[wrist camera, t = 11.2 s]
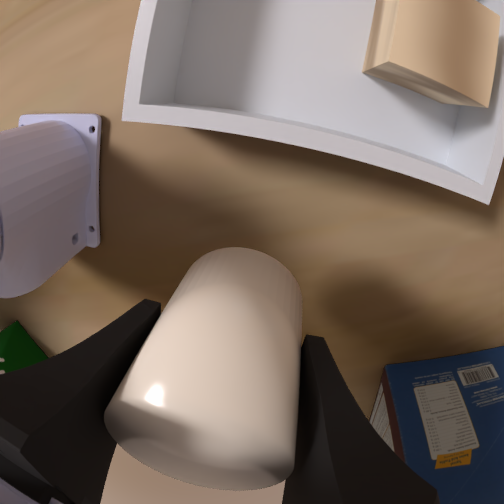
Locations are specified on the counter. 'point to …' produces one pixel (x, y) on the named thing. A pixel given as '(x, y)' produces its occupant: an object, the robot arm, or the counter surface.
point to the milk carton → (18, 349)
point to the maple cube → (435, 48)
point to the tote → (307, 87)
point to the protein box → (448, 423)
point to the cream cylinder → (218, 377)
